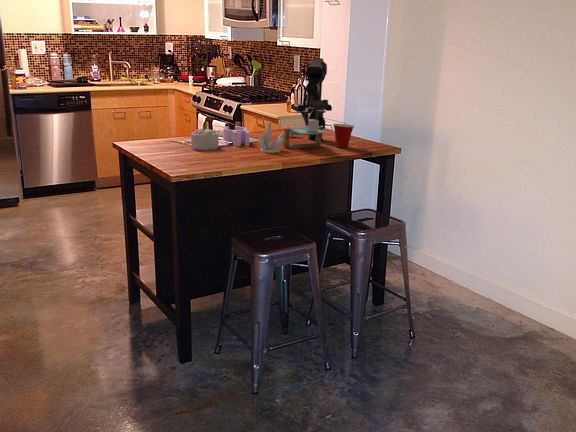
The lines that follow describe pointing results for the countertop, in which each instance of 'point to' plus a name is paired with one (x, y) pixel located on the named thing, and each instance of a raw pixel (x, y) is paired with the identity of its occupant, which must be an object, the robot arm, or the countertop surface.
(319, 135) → the frame
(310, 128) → the stone
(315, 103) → the robot arm
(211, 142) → the lumpy-topped squat cylinder
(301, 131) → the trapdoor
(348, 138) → the plastic cup
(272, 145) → the crystal
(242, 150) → the countertop surface
